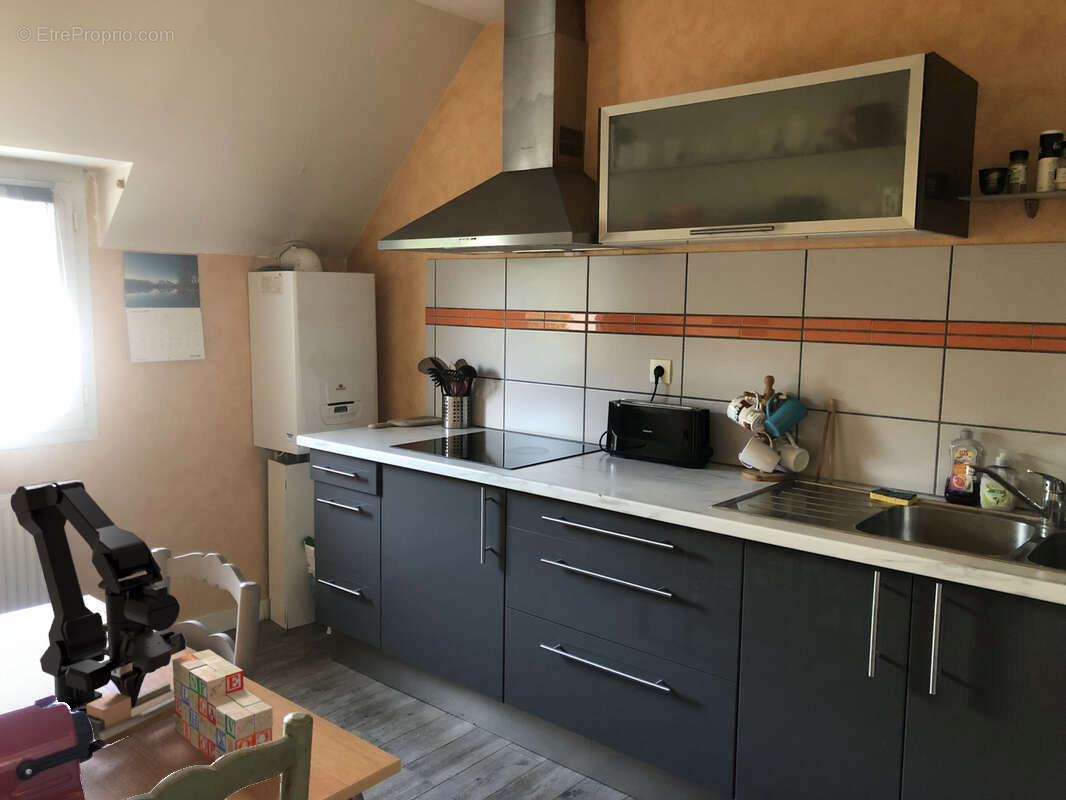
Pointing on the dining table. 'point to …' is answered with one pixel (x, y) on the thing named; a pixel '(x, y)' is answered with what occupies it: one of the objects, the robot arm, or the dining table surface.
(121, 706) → the block
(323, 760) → the dining table surface
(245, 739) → the stack of blocks
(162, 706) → the track
